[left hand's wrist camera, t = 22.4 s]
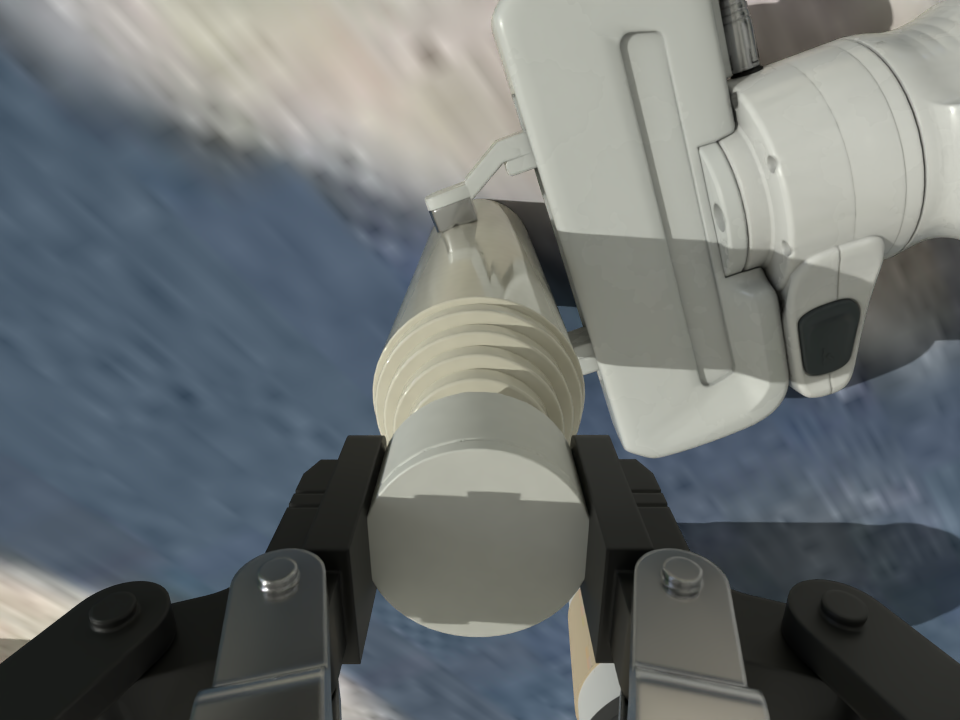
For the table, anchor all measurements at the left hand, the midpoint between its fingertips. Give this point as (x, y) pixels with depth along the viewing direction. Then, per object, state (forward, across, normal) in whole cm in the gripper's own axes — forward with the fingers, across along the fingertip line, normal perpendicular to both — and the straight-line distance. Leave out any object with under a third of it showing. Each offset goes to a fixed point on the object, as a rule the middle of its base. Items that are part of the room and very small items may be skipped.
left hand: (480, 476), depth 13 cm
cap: (-2, 0, 0) cm, 2 cm away
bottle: (+22, 0, 0) cm, 22 cm away
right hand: (+15, -1, 0) cm, 15 cm away
